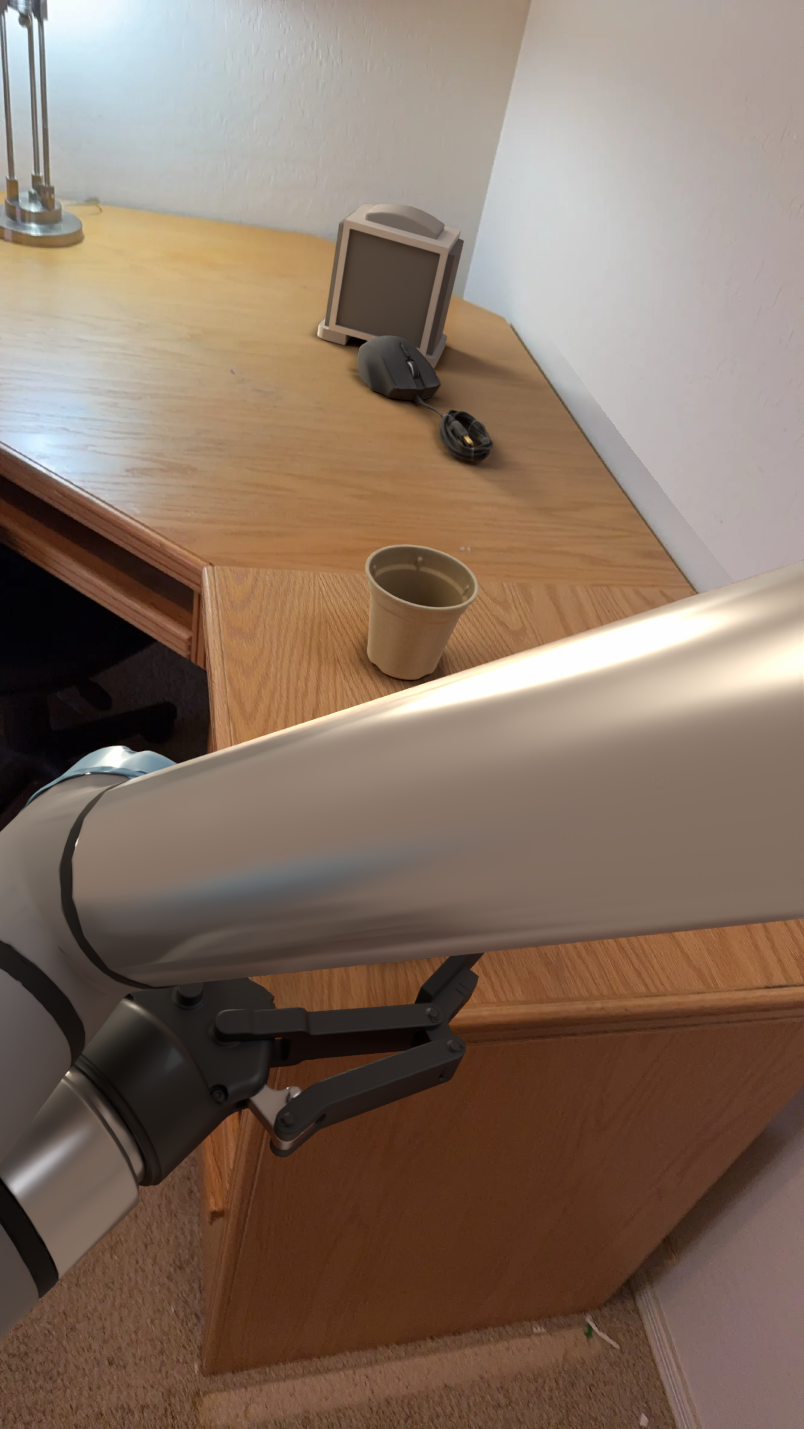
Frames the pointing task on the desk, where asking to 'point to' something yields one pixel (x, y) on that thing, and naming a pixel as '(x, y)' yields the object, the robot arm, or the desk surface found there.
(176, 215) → the desk surface
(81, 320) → the desk surface
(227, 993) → the robot arm
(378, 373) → the computer mouse
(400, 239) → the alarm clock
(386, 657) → the flower pot
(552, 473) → the desk surface
